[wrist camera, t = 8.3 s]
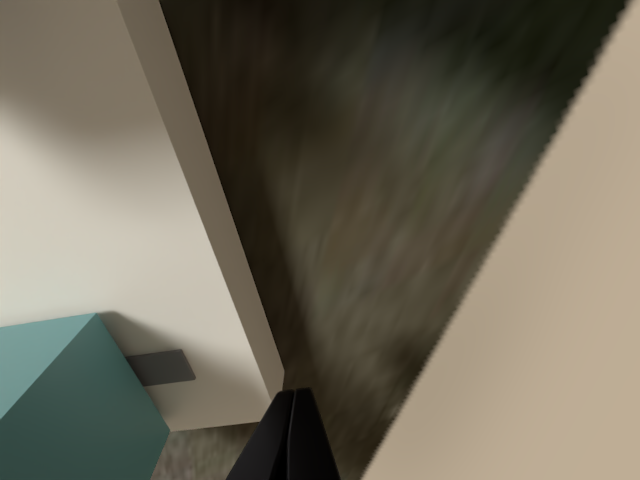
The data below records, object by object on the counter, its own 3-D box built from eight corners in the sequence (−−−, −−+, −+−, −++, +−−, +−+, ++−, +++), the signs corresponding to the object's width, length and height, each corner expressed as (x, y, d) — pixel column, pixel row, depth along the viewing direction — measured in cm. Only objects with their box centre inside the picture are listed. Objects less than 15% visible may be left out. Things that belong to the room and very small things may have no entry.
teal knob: (100, 305, 9) (-123, 547, 4) (178, 433, 11) (85, 671, 7) (-49, 328, 9) (-387, 572, 5) (57, 446, 12) (-103, 679, 7)
